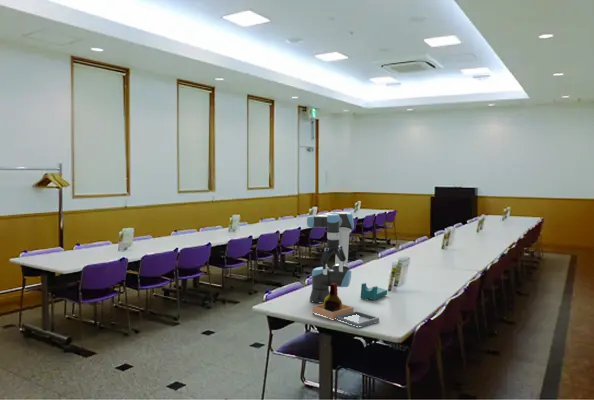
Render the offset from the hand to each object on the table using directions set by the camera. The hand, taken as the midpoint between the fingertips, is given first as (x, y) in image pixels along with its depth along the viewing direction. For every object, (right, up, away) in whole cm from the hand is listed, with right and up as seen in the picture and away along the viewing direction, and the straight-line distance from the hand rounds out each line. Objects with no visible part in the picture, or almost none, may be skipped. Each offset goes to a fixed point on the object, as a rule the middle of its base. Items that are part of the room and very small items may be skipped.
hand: (333, 273), depth 296 cm
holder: (0, -26, +2) cm, 26 cm away
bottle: (0, -27, +2) cm, 27 cm away
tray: (+14, -27, -12) cm, 32 cm away
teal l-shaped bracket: (+32, -24, +44) cm, 60 cm away
